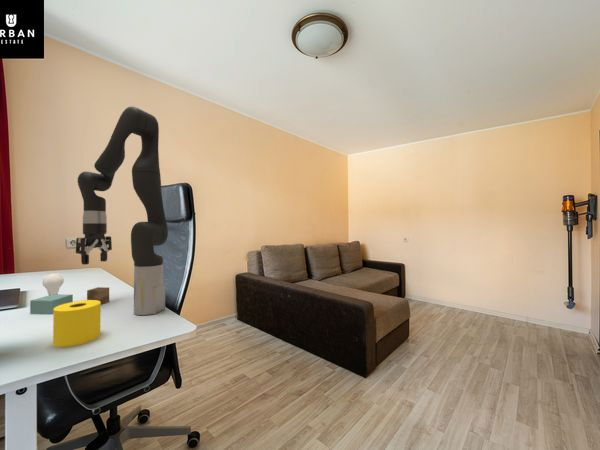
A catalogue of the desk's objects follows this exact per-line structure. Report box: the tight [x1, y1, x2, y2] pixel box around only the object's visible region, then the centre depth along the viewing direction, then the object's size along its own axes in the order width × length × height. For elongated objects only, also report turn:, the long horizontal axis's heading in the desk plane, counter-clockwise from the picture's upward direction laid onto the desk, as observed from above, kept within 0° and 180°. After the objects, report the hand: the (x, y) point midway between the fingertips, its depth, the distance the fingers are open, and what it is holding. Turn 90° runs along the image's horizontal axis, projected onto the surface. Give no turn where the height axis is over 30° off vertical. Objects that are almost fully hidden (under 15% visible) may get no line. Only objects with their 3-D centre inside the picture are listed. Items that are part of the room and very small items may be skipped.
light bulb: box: [41, 272, 65, 296], centre depth 109 cm, size 7×7×11 cm
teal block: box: [29, 293, 74, 315], centre depth 95 cm, size 8×8×5 cm
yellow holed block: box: [52, 299, 102, 348], centre depth 72 cm, size 10×10×9 cm
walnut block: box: [86, 286, 110, 306], centre depth 103 cm, size 5×5×6 cm
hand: (95, 262), depth 102 cm, fingers open, 8 cm apart
